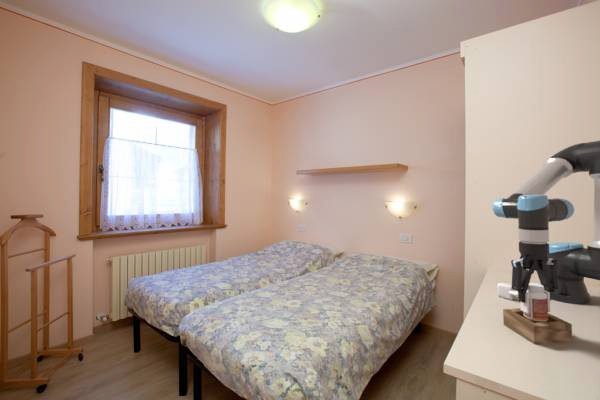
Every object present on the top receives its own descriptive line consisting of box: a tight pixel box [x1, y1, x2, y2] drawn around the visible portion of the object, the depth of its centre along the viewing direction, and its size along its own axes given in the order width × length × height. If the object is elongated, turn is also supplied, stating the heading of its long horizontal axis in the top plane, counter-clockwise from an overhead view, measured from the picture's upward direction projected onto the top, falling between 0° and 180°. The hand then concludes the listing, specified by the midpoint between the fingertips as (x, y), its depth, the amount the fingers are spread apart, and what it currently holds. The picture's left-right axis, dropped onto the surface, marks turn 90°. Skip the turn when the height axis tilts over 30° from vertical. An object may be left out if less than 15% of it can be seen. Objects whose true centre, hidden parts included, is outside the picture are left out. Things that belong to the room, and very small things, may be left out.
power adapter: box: [496, 282, 518, 301], centre depth 113 cm, size 11×5×6 cm, turn 25°
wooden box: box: [502, 307, 573, 345], centre depth 88 cm, size 12×12×6 cm
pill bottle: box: [523, 282, 549, 322], centre depth 88 cm, size 6×6×11 cm
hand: (535, 310), depth 88 cm, fingers closed on pill bottle, 6 cm apart
